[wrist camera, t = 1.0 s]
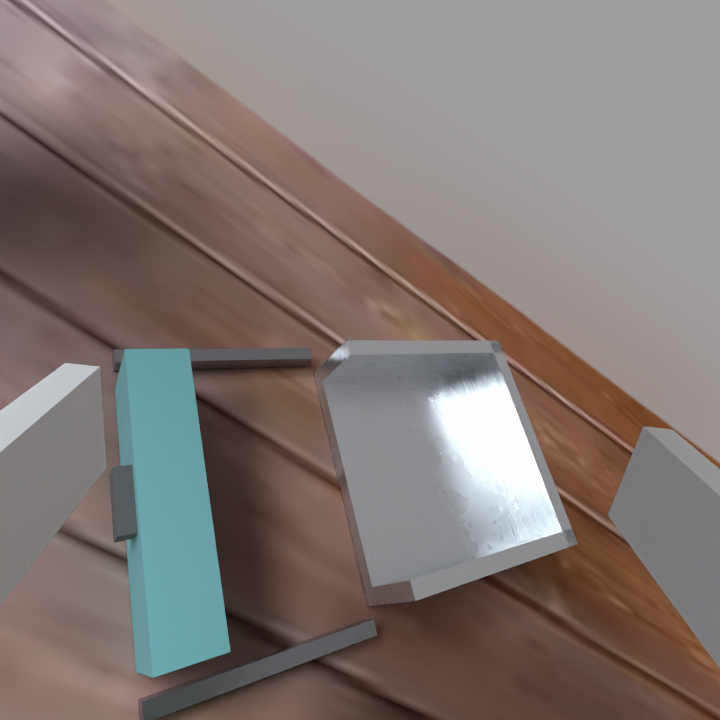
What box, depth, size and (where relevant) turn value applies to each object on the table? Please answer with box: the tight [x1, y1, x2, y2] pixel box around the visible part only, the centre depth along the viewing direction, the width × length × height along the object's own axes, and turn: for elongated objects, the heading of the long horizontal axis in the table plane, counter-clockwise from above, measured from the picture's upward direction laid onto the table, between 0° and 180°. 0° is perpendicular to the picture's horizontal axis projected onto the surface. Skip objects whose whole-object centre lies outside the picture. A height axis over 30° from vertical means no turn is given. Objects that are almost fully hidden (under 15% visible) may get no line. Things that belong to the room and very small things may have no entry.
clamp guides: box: [113, 348, 377, 720], centre depth 28 cm, size 18×12×1 cm
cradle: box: [314, 340, 578, 606], centre depth 34 cm, size 15×14×5 cm
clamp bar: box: [110, 349, 231, 678], centre depth 24 cm, size 14×4×5 cm, turn 17°
